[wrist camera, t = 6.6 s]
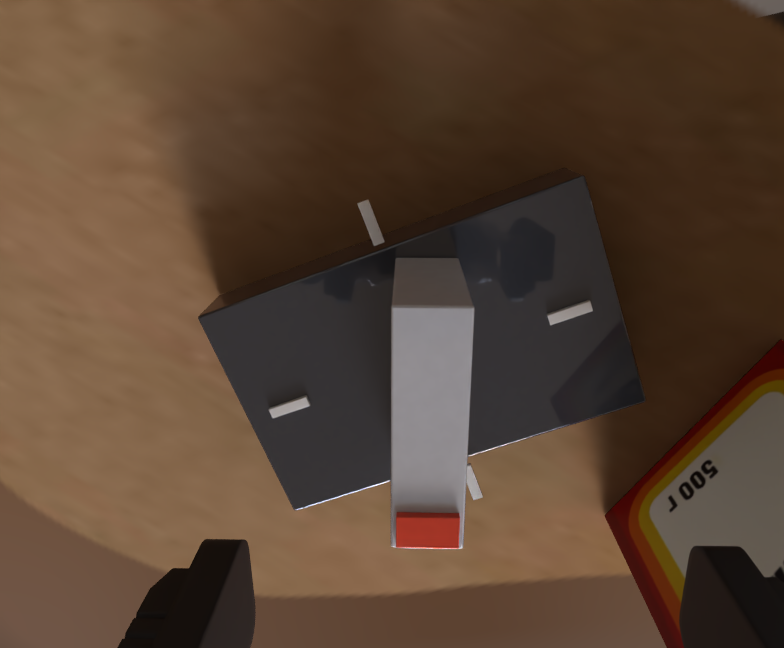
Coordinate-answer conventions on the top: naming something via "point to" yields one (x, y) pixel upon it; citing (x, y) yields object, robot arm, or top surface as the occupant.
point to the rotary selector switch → (373, 336)
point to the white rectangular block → (430, 402)
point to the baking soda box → (710, 494)
